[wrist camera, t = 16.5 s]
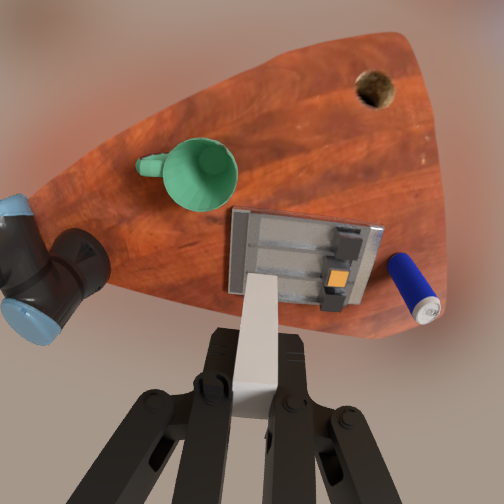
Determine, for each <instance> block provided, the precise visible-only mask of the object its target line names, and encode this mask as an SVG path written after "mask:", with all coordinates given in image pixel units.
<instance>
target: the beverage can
mask: <svg viewBox="0 0 504 504" xmlns="http://www.w3.org/2000/svg"><path fill="white" fill-rule="evenodd" d="M387 269H388V272H389V274H390V275H391V277H392V279H393V281H394V283H395V284H396V286H397V288H398V290H399V292H400V294H401V296H402V297H403V299H404V301H405V303H406V305H407V307H408V309H409V311H410V313H411V315H412V317H413V319H414V320H415V321H417V322H418V323H419V324H427V323H430V322H431V321H433V320H434V319H435V318H436V317H437V316H438V314H439V313H440V310H441V306H440V301H439V299H438V297H437V296H436V294H435V293H434V291H433V290H432V288H431V287H430V285H429V284H428V282H427V281H426V279H425V278H424V276H423V275H422V274H421V272H420V271H419V269H418V268H417V266H416V265H415V264H414V262H413V261H412V259H411V258H410V257H409V256H408V255H407V254H405V253H398V254H395V255H394V256H392V257H391V259H390V260H389V262H388V265H387Z"/></svg>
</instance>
